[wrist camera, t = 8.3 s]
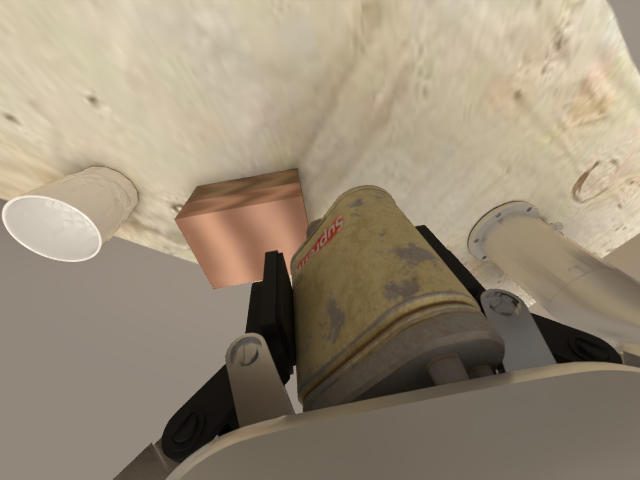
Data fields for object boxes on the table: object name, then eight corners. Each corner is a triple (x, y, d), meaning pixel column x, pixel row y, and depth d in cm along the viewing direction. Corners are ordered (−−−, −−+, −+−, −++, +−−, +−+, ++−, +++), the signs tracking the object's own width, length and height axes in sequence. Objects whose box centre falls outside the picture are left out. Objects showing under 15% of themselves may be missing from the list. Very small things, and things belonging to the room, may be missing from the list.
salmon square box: (297, 168, 35) (301, 196, 27) (309, 233, 41) (316, 269, 34) (197, 186, 34) (174, 219, 27) (225, 248, 41) (213, 289, 33)
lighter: (326, 292, 16) (375, 534, 8) (273, 270, 14) (262, 546, 6) (407, 205, 13) (628, 448, 5) (352, 166, 11) (539, 429, 3)
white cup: (88, 216, 35) (30, 262, 26) (60, 159, 30) (-20, 194, 22) (151, 217, 36) (113, 261, 28) (132, 162, 31) (81, 196, 23)
